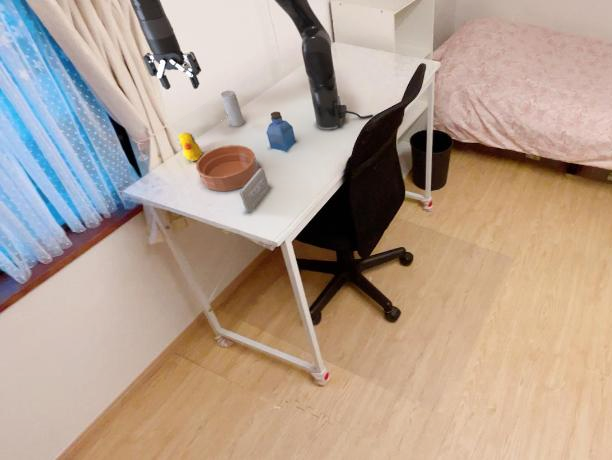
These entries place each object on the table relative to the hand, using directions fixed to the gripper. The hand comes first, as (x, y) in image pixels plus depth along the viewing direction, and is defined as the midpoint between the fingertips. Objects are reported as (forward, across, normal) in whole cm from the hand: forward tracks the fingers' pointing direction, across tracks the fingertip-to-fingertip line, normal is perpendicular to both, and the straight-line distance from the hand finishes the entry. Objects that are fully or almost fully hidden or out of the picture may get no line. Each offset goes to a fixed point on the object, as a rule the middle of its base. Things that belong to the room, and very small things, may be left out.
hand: (182, 87), depth 131 cm
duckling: (+23, -3, -4) cm, 24 cm away
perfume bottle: (+23, +25, +3) cm, 34 cm away
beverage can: (+23, +5, +17) cm, 29 cm away
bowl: (+23, +11, -14) cm, 29 cm away
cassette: (+23, +23, -26) cm, 42 cm away
